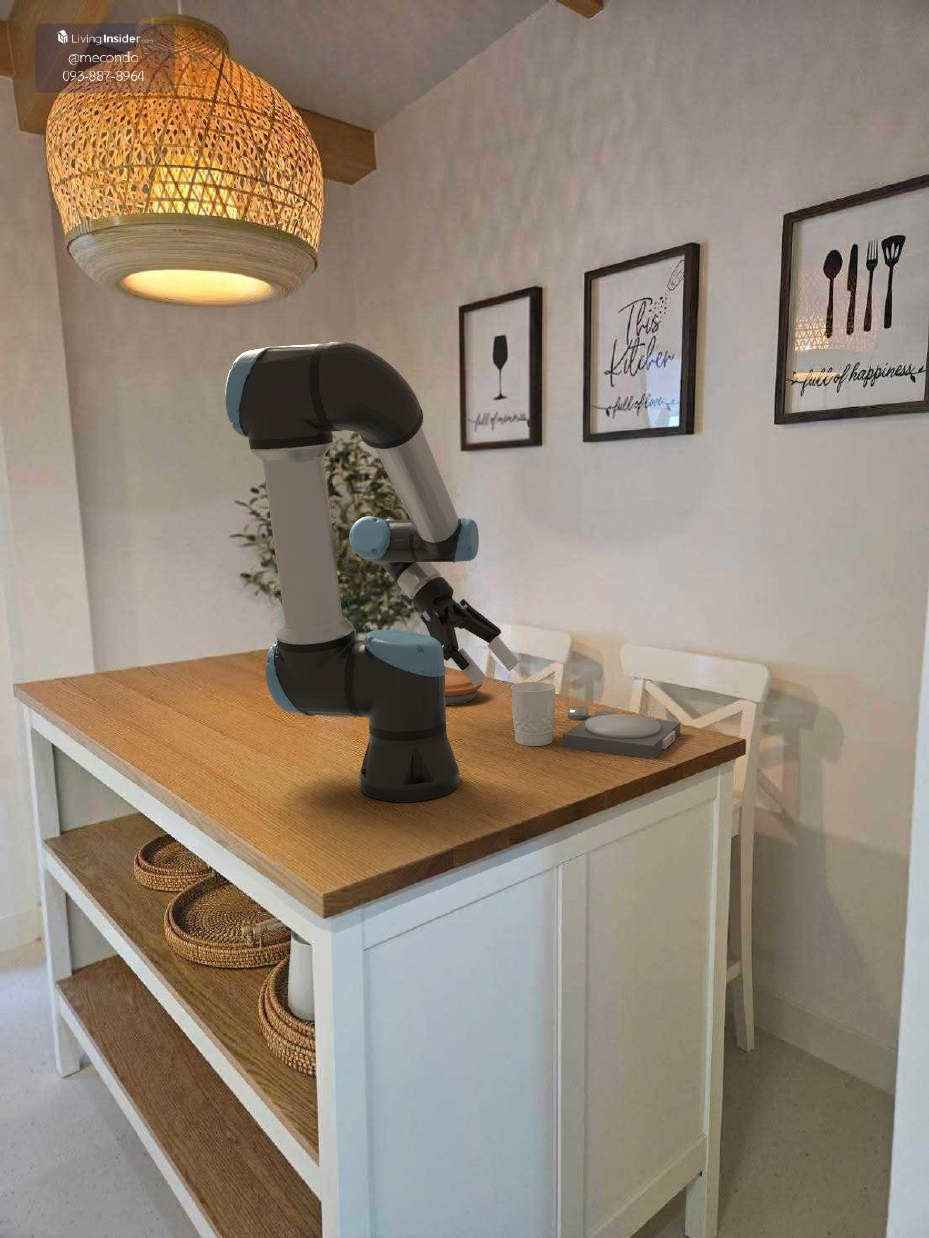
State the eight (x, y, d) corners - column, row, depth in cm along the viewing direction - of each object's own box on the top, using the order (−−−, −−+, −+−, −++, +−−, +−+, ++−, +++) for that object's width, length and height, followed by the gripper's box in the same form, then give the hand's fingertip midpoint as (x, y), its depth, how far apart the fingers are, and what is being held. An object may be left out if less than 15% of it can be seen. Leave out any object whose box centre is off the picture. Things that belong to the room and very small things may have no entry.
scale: (656, 759, 133) (656, 741, 132) (562, 746, 141) (562, 729, 141) (683, 734, 146) (684, 718, 146) (596, 724, 155) (596, 708, 154)
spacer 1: (583, 722, 157) (583, 712, 157) (564, 719, 159) (564, 709, 159) (591, 717, 161) (591, 707, 160) (572, 715, 163) (572, 705, 162)
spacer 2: (611, 726, 153) (611, 716, 153) (591, 724, 155) (591, 714, 155) (618, 721, 157) (618, 711, 156) (599, 719, 159) (599, 709, 158)
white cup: (554, 748, 140) (553, 691, 139) (508, 746, 142) (507, 691, 141) (558, 735, 148) (557, 681, 147) (515, 734, 150) (514, 681, 148)
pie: (497, 699, 177) (496, 676, 177) (440, 711, 168) (439, 688, 167) (453, 688, 189) (453, 667, 189) (398, 699, 180) (397, 677, 179)
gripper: (448, 594, 166) (514, 672, 161) (377, 610, 145) (451, 701, 140) (470, 569, 163) (539, 648, 158) (401, 581, 141) (477, 674, 136)
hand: (498, 673), depth 149 cm, fingers open, 13 cm apart
